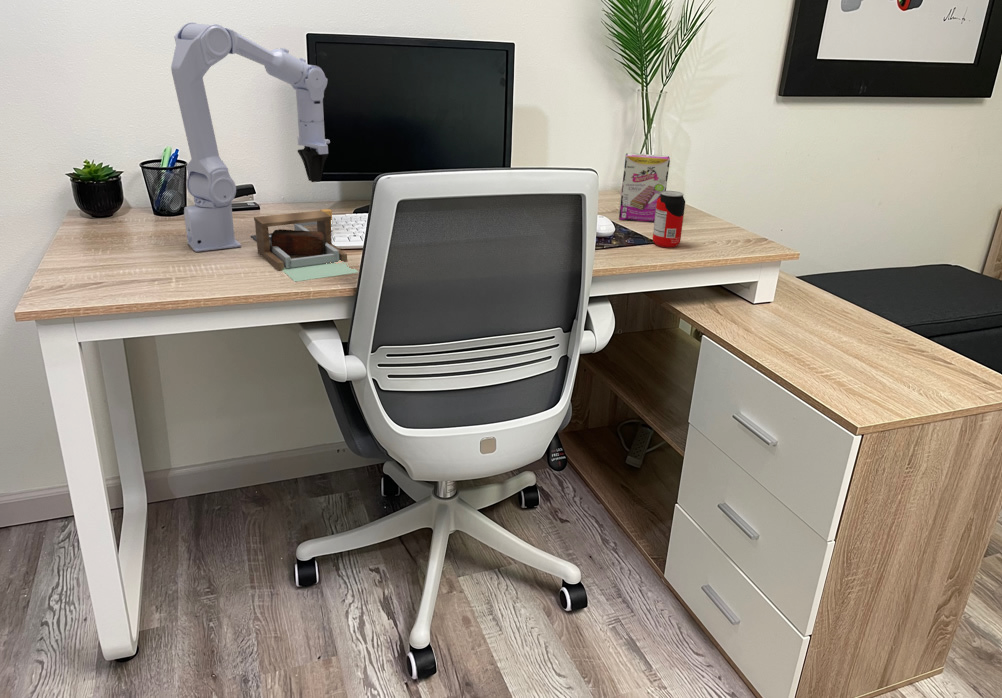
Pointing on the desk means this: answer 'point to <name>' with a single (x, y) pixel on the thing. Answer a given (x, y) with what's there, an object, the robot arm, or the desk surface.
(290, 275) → the mat
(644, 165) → the candy bar box
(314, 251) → the brick
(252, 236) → the pit marker
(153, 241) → the desk surface
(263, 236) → the tunnel
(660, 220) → the beverage can
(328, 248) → the tray
